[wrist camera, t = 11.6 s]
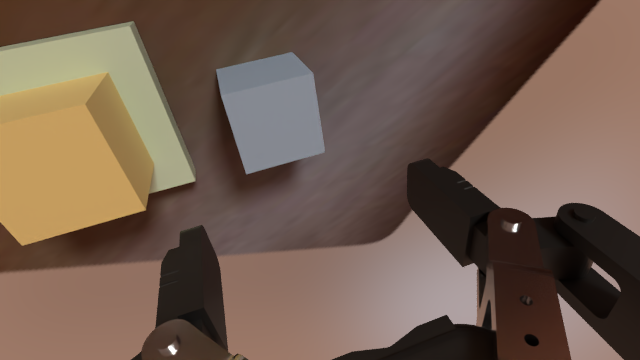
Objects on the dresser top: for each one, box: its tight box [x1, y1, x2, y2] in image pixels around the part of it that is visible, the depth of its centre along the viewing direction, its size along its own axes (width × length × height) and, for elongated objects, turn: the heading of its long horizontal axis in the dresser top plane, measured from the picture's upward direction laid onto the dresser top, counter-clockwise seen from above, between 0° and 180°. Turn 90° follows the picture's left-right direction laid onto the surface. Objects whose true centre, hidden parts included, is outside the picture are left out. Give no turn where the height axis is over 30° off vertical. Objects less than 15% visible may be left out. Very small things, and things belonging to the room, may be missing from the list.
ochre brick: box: [0, 72, 154, 246], centre depth 18 cm, size 6×6×5 cm
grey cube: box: [216, 52, 325, 174], centre depth 22 cm, size 5×5×5 cm
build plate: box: [0, 21, 196, 194], centre depth 21 cm, size 10×10×2 cm
